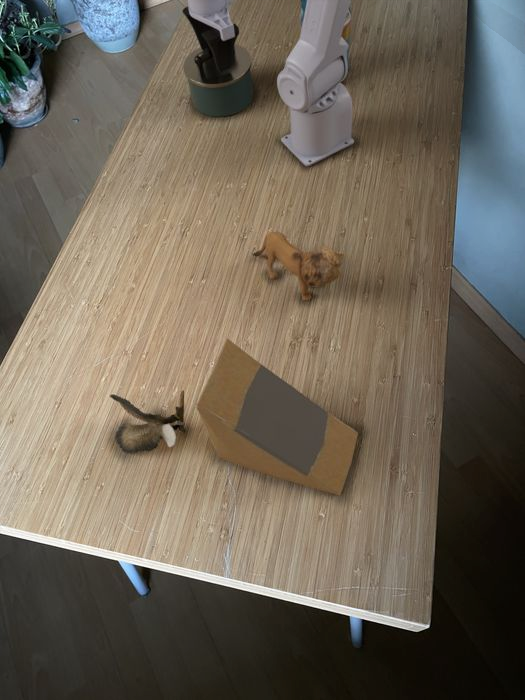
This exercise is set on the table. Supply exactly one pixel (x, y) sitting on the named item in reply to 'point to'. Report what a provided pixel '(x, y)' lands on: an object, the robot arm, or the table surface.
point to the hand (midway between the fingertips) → (216, 59)
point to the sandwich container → (273, 425)
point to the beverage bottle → (345, 30)
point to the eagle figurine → (148, 428)
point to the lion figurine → (302, 262)
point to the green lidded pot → (219, 82)
